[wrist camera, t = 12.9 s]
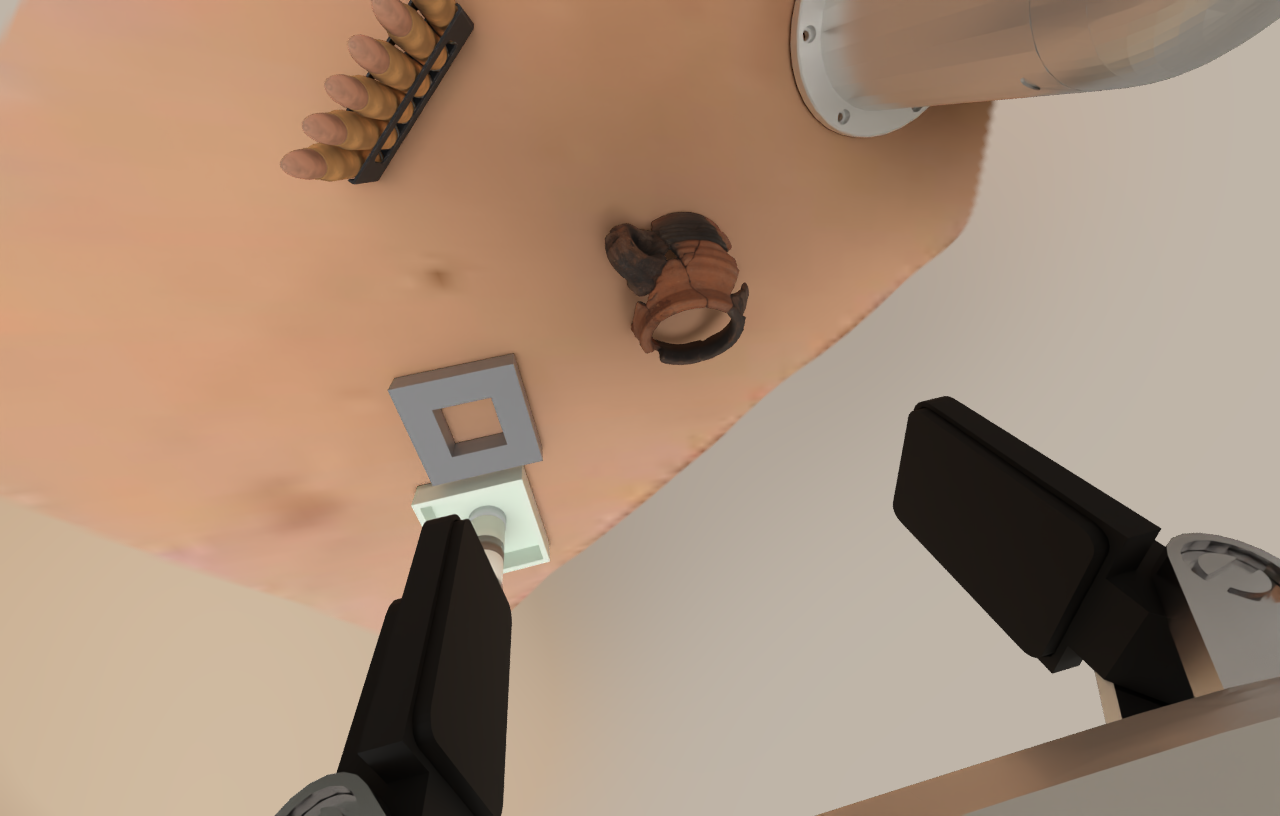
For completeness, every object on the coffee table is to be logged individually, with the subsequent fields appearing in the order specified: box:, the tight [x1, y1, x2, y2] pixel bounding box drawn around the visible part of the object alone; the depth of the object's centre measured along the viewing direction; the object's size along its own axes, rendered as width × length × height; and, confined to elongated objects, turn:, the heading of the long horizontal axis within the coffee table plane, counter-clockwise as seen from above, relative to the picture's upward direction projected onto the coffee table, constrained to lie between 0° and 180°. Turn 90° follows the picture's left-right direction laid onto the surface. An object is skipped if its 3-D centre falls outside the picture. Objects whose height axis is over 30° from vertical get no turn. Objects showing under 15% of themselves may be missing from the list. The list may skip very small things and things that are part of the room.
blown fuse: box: [469, 505, 506, 590], centre depth 39 cm, size 3×3×9 cm
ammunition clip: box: [280, 0, 474, 184], centre depth 23 cm, size 11×2×12 cm, turn 137°
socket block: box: [388, 354, 543, 486], centre depth 37 cm, size 9×9×2 cm
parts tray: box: [411, 465, 550, 573], centre depth 42 cm, size 9×10×2 cm
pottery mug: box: [605, 212, 749, 365], centre depth 34 cm, size 12×10×8 cm
